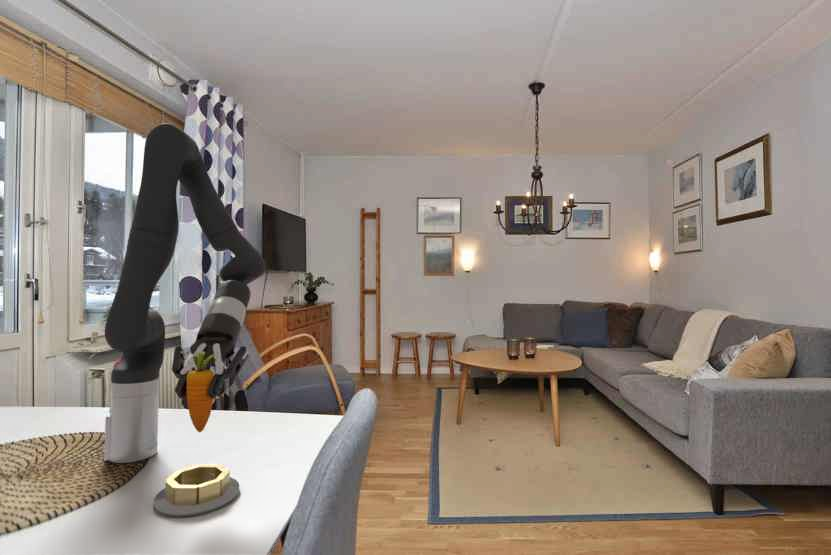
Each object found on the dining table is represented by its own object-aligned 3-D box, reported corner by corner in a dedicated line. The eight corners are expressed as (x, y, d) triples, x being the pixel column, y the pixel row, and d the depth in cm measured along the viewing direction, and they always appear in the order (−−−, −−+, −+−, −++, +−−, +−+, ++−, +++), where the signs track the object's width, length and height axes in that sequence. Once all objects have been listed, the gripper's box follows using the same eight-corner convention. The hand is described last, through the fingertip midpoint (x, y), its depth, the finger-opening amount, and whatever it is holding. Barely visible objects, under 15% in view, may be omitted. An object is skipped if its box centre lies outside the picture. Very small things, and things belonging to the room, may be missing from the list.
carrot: (191, 427, 82) (192, 348, 82) (218, 427, 83) (219, 348, 83) (179, 437, 77) (180, 352, 77) (208, 436, 78) (209, 352, 78)
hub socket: (136, 518, 72) (136, 494, 72) (177, 480, 86) (178, 460, 86) (221, 517, 73) (222, 493, 73) (249, 479, 87) (249, 459, 87)
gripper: (181, 311, 87) (146, 385, 75) (254, 311, 88) (231, 384, 76) (193, 334, 93) (162, 407, 80) (261, 334, 93) (241, 406, 81)
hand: (196, 395), depth 78 cm, fingers closed on carrot, 5 cm apart
